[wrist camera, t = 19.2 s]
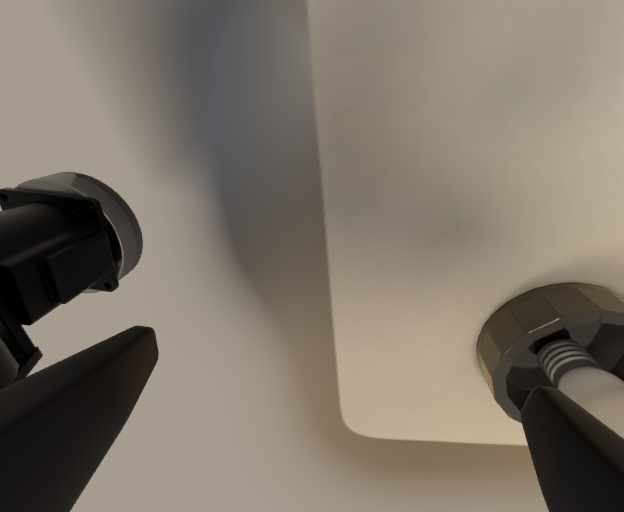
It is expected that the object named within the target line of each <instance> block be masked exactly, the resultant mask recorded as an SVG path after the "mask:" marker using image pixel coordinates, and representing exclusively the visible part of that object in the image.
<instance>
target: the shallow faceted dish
mask: <svg viewBox="0 0 624 512" xmlns="http://www.w3.org/2000/svg"><path fill="white" fill-rule="evenodd" d="M560 339H568V340H573V341H576V342H578V343H579V344H580V345H581V346H582V347H583V348H584V349H585V350H586V351H587V353H588V354H589V355H590V356H591V357H592V358H593V359H594V360H595V361H596V362H597V364H598V365H600V366H601V367H602V368H603V370H604V371H607V372H609V373H611V374H613V375H615V376H617V377H618V378H620V379H621V380H622V381H624V299H623V298H621V297H620V296H618V295H617V294H615V293H613V292H611V291H609V290H607V289H604V288H601V287H597V286H593V285H587V284H576V283H571V284H558V285H551V286H547V287H542V288H539V289H536V290H533V291H530V292H527V293H525V294H523V295H521V296H519V297H517V298H515V299H513V300H512V301H510V302H508V303H507V304H506V305H504V306H503V307H501V308H500V309H499V310H498V311H497V312H496V313H495V314H494V315H493V316H492V317H491V318H490V319H489V321H488V322H487V323H486V325H485V326H484V328H483V330H482V332H481V334H480V337H479V340H478V346H477V356H478V360H479V364H480V366H481V371H482V373H483V375H484V378H485V380H486V382H487V384H488V386H489V388H490V390H491V393H492V395H493V397H494V399H495V401H496V402H497V403H498V404H499V405H500V407H501V408H502V409H503V410H504V411H505V413H506V414H507V415H508V416H509V417H510V418H512V419H514V420H516V421H518V422H520V423H522V422H521V409H522V407H523V405H524V403H525V402H526V400H527V398H528V396H529V394H530V392H531V390H532V389H533V388H534V387H535V386H546V387H553V388H555V387H554V385H553V384H552V383H551V381H550V380H549V379H548V377H547V375H546V374H545V373H544V371H543V370H542V368H541V367H540V365H539V364H538V362H537V354H538V352H539V351H540V349H541V348H542V347H543V346H544V345H546V344H548V343H550V342H552V341H555V340H560Z"/></svg>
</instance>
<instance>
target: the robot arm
mask: <svg viewBox="0 0 624 512" xmlns="http://www.w3.org/2000/svg"><path fill="white" fill-rule="evenodd" d="M90 204H91V205H92V206H93V208H91V206H90ZM0 206H1V208H2V211H1V212H0V512H70V510H71V509H72V507H73V506H74V504H75V503H76V501H77V499H78V498H79V496H80V495H81V493H82V491H83V490H84V488H85V487H86V485H87V484H88V482H89V480H90V479H91V477H92V476H93V474H94V473H95V471H96V469H97V468H98V466H99V465H100V463H101V461H102V459H103V458H104V456H105V455H106V454H107V452H108V450H109V449H110V447H111V446H112V444H113V442H114V441H115V439H116V438H117V436H118V434H119V433H120V431H121V430H122V428H123V426H124V425H125V423H126V421H127V420H128V418H129V416H130V414H131V412H132V410H133V408H134V406H135V404H136V402H137V400H138V398H139V396H140V394H141V392H142V390H143V388H144V387H145V385H146V383H147V380H148V378H149V377H150V375H151V373H152V371H153V369H154V367H155V365H156V363H157V360H158V347H157V342H156V335H155V331H154V330H153V329H152V328H151V327H144V326H134V327H132V328H129V329H127V330H125V331H123V332H121V333H119V334H117V335H115V336H113V337H110V338H108V339H106V340H104V341H102V342H100V343H98V344H96V345H93V346H91V347H89V348H87V349H85V350H83V351H81V352H79V353H76V354H74V355H72V356H70V357H68V358H66V359H64V360H62V361H59V362H57V363H55V364H53V365H51V366H49V367H47V368H45V369H43V370H40V371H38V372H36V373H34V374H32V375H30V376H28V377H26V376H27V375H28V374H29V372H30V371H31V370H32V369H33V367H34V366H35V365H36V364H37V362H38V361H39V360H40V359H41V357H42V356H43V355H42V353H41V351H40V350H39V348H38V347H35V346H34V344H33V343H32V341H31V339H30V338H29V336H28V335H27V333H26V332H25V330H24V328H23V327H22V325H31V324H33V323H35V322H36V321H37V320H39V319H40V318H42V317H43V316H45V315H46V314H48V313H49V312H50V311H51V310H53V309H54V308H56V307H58V306H59V305H61V304H66V303H68V302H69V301H70V300H72V299H73V298H75V297H76V296H77V295H79V294H80V293H82V292H83V291H85V290H86V289H93V290H100V291H108V292H112V291H114V290H115V289H116V288H118V286H119V283H118V278H117V274H116V269H115V265H114V260H113V256H112V251H111V246H110V242H109V237H108V233H107V228H106V224H105V219H104V215H103V210H102V206H101V204H100V202H99V201H98V200H97V199H95V198H92V197H84V196H76V195H67V194H58V193H49V192H41V191H32V190H23V189H15V188H4V189H0ZM109 283H110V284H111V285H110V284H109ZM521 422H522V426H523V429H524V432H525V436H526V439H527V443H528V446H529V450H530V453H531V457H532V460H533V464H534V467H535V471H536V474H537V478H538V481H539V484H540V487H541V490H542V494H543V496H544V499H545V502H546V505H547V507H548V510H549V512H624V439H623V438H622V437H621V436H619V435H618V434H617V433H616V432H614V431H613V430H612V429H610V428H609V427H608V426H606V425H605V424H604V423H602V422H601V421H600V420H598V419H597V418H596V417H594V416H593V415H592V414H590V413H589V412H588V411H586V410H585V409H584V408H582V407H581V406H580V405H578V404H577V403H576V402H574V401H573V400H572V399H570V398H569V397H568V396H566V395H565V394H564V393H563V392H561V391H560V390H558V389H556V388H553V387H546V386H535V387H534V388H533V389H532V390H531V392H530V394H529V396H528V398H527V400H526V402H525V403H524V405H523V407H522V409H521Z"/></svg>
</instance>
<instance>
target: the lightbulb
mask: <svg viewBox="0 0 624 512" xmlns="http://www.w3.org/2000/svg"><path fill="white" fill-rule="evenodd" d="M537 362H538V364H539V365H540V367H541V368H542V370H543V371H544V373H545V374H546V375H547V377H548V379H549V380H550V381H551V383H552V384H553V385H554V387H555V388H556V389H558V390H560V391H561V392H563V393H564V394H565V395H566V396H568V397H569V398H570V399H572V400H573V401H574V402H576V403H577V404H578V405H580V406H581V407H582V408H584V409H585V410H586V411H588V412H589V413H590V414H592V415H593V416H594V417H596V418H597V419H598V420H600V421H601V422H602V423H604V424H605V425H606V426H608V427H609V428H610V429H612V430H613V431H614V432H616V433H617V434H618V435H619V436H621V437H622V438H623V439H624V381H622V380H621V379H620V378H618V377H617V376H615V375H613V374H611V373H609V372H607V371H604V370H603V368H602V367H601V366H600V365H598V364H597V362H596V361H595V360H594V359H593V358H592V357H591V356H590V355H589V354H588V353H587V351H586V350H585V349H584V348H583V347H582V346H581V345H580V344H579V343H578V342H576V341H573V340H568V339H560V340H555V341H552V342H550V343H548V344H546V345H544V346H543V347H542V348H541V349H540V351H539V352H538V354H537Z"/></svg>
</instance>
